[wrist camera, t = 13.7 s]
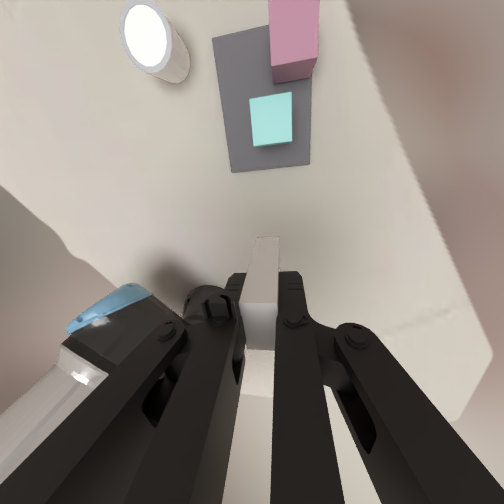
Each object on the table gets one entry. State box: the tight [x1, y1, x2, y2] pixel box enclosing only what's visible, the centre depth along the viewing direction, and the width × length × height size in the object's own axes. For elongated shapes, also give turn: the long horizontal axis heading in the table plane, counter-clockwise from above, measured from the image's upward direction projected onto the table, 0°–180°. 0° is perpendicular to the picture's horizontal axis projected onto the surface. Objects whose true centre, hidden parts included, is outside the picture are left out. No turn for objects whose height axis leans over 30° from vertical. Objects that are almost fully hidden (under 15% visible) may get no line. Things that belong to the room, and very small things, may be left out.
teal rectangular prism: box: [249, 92, 292, 147], centre depth 28 cm, size 5×5×7 cm
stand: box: [212, 0, 320, 173], centre depth 27 cm, size 14×18×9 cm
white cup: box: [119, 0, 190, 83], centre depth 27 cm, size 7×7×7 cm
